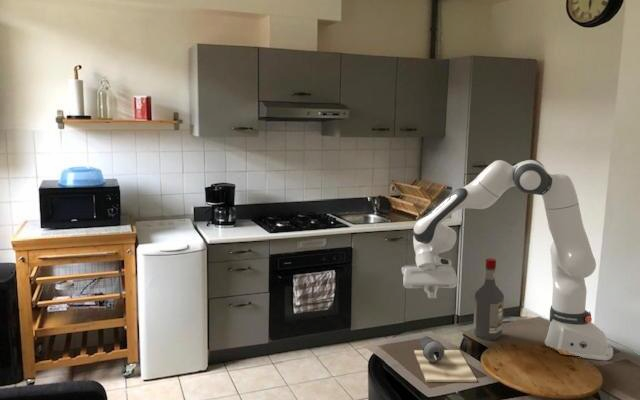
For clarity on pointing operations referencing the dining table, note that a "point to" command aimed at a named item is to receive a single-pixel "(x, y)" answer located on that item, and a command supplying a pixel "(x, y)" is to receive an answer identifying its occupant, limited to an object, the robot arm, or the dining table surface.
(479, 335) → the liquor
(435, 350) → the beverage cup
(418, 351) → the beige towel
